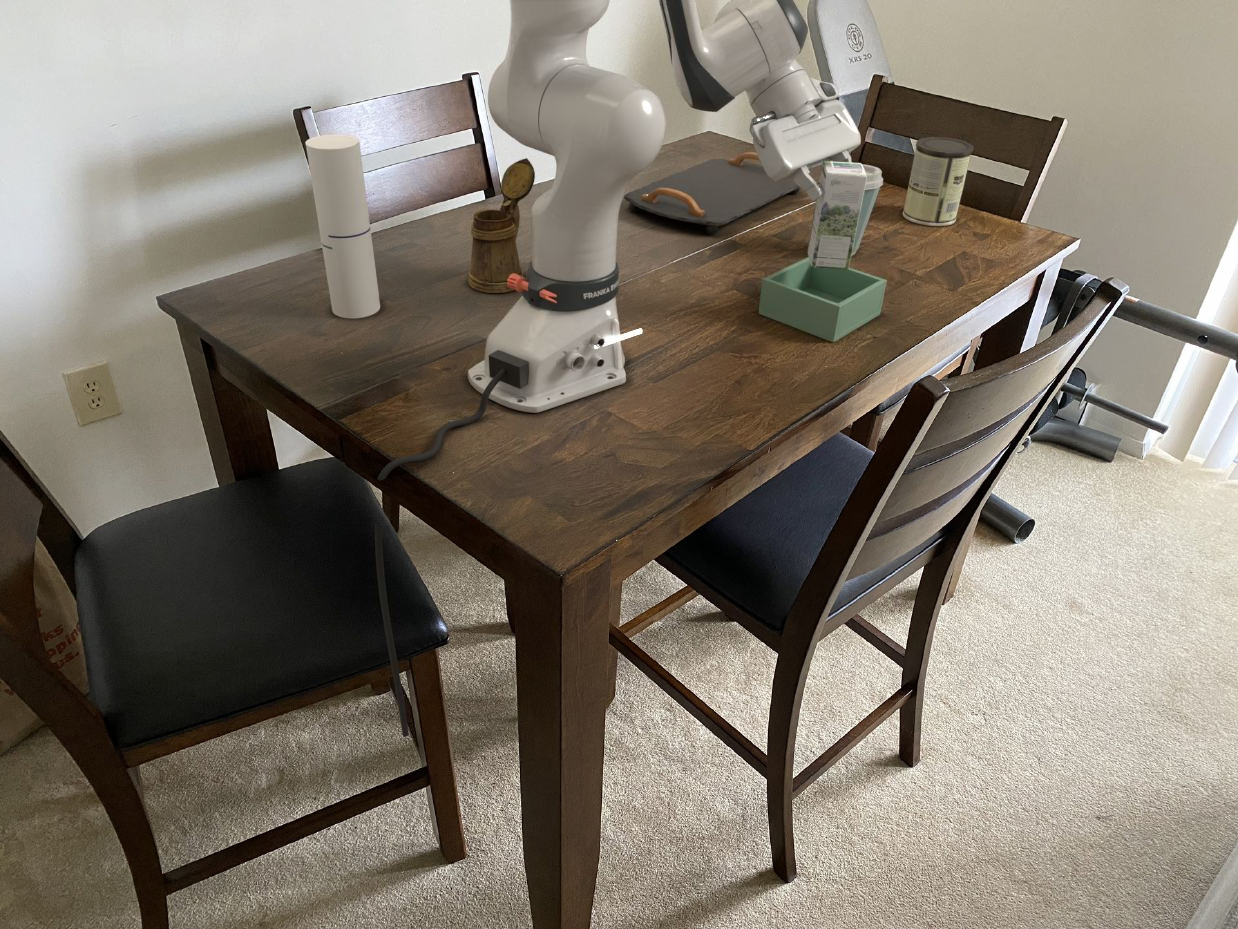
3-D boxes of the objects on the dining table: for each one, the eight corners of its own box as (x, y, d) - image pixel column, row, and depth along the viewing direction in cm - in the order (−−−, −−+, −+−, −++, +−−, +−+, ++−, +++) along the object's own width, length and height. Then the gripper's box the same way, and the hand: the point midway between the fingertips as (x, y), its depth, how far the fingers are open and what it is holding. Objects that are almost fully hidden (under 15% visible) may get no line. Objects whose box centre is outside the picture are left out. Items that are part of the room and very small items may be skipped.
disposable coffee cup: (796, 248, 168) (808, 164, 159) (834, 235, 174) (847, 153, 165) (843, 267, 161) (859, 180, 153) (881, 252, 167) (898, 168, 159)
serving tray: (711, 243, 168) (714, 210, 165) (610, 213, 180) (611, 181, 176) (813, 191, 194) (818, 161, 190) (720, 167, 205) (722, 138, 202)
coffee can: (911, 204, 189) (926, 133, 181) (962, 215, 184) (980, 142, 176) (894, 219, 182) (909, 145, 174) (947, 230, 177) (964, 155, 169)
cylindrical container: (368, 320, 139) (345, 151, 125) (323, 315, 140) (296, 146, 126) (387, 301, 145) (367, 136, 131) (344, 295, 146) (320, 132, 132)
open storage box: (833, 342, 138) (839, 306, 134) (758, 313, 145) (762, 278, 142) (880, 314, 146) (887, 280, 143) (806, 288, 153) (811, 255, 150)
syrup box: (844, 256, 143) (861, 160, 135) (849, 271, 138) (868, 173, 130) (806, 253, 143) (822, 158, 135) (810, 269, 139) (826, 171, 130)
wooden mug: (551, 271, 156) (550, 163, 146) (499, 298, 147) (494, 185, 137) (510, 258, 160) (506, 152, 150) (457, 284, 151) (448, 173, 141)
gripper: (760, 106, 126) (810, 195, 126) (841, 82, 138) (887, 164, 139) (730, 133, 131) (779, 219, 131) (811, 108, 143) (856, 186, 144)
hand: (835, 190), depth 135 cm, fingers closed on syrup box, 7 cm apart
